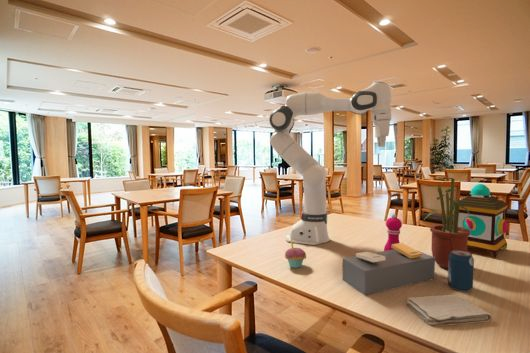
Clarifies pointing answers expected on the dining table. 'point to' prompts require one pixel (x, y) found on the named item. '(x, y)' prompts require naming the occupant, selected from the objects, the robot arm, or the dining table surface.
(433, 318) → the washcloth
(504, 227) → the decorative lantern
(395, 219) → the pepper mill
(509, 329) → the dining table surface
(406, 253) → the bar
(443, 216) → the potted plant
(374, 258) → the cream rocker
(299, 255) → the cupcake
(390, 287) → the grey rectangular block
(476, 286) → the dining table surface
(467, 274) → the soda can
